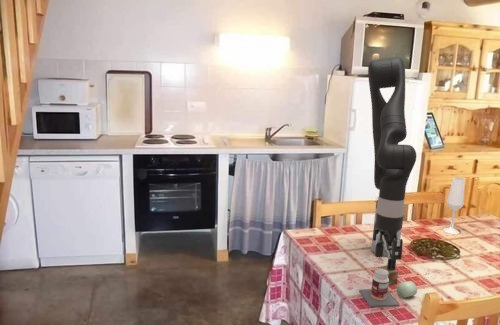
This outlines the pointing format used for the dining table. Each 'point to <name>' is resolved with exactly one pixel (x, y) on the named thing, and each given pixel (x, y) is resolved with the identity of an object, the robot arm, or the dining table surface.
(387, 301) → the plate
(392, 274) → the walnut cube
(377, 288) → the pill bottle
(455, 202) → the champagne flute
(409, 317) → the dining table surface
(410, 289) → the green tub
